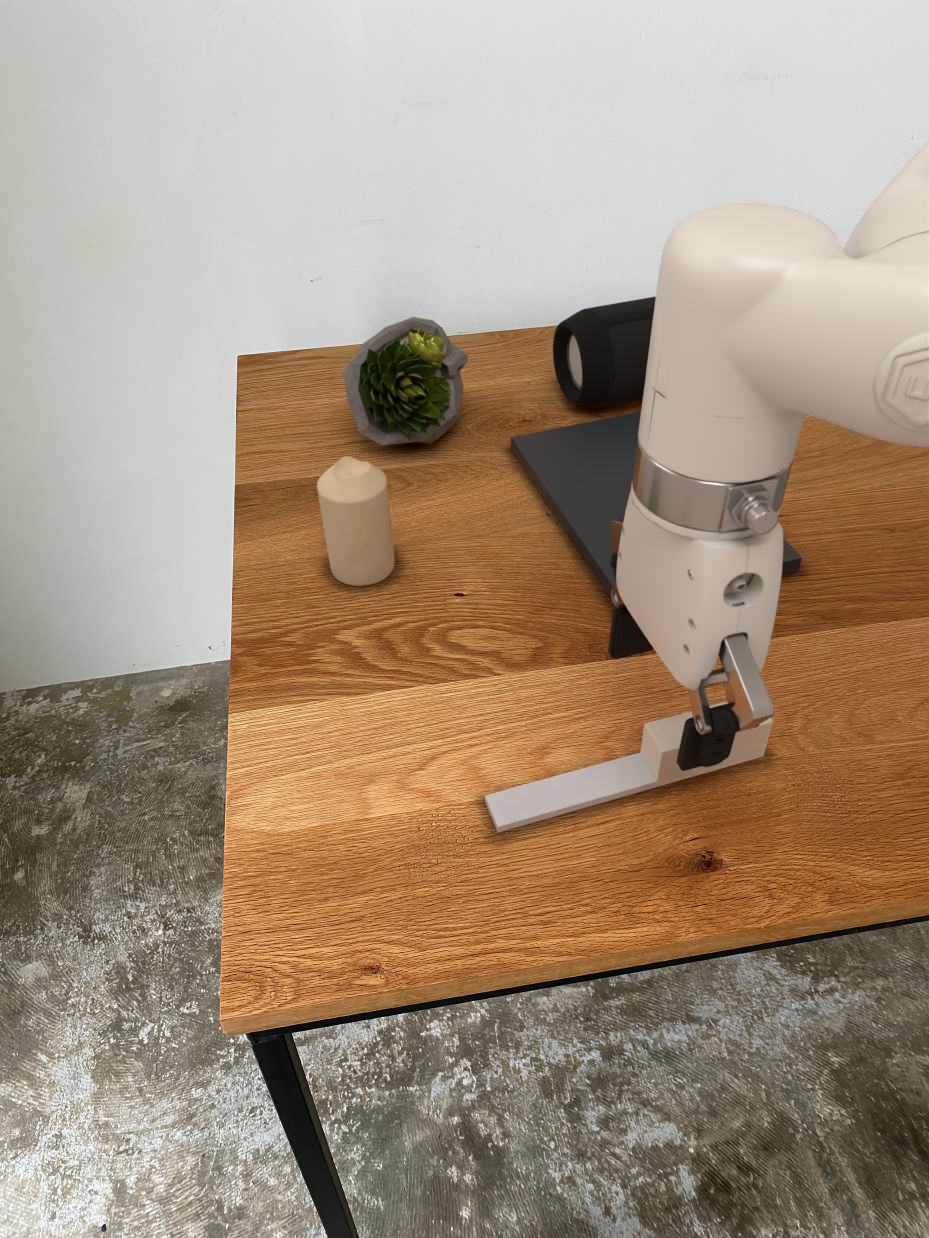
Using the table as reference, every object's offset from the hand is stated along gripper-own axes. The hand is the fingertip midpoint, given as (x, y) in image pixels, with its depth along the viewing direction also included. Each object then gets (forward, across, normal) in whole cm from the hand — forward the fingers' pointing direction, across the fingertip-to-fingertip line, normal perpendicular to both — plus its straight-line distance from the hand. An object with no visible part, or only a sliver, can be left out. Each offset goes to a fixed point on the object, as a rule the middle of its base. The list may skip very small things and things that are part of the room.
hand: (664, 703), depth 58 cm
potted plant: (+7, +47, +4) cm, 47 cm away
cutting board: (+6, +28, -12) cm, 31 cm away
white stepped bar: (+6, 0, +2) cm, 6 cm away
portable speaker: (+7, +47, -26) cm, 54 cm away
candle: (+7, +28, +14) cm, 32 cm away
